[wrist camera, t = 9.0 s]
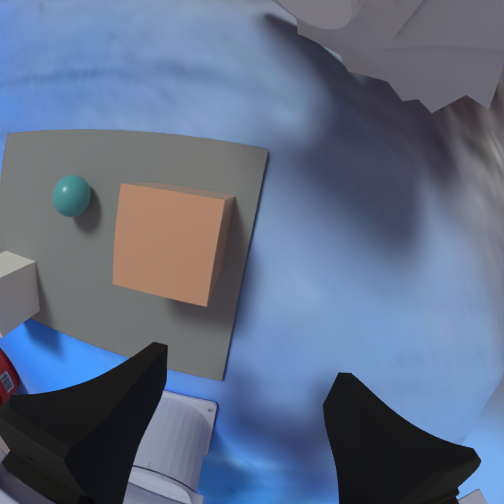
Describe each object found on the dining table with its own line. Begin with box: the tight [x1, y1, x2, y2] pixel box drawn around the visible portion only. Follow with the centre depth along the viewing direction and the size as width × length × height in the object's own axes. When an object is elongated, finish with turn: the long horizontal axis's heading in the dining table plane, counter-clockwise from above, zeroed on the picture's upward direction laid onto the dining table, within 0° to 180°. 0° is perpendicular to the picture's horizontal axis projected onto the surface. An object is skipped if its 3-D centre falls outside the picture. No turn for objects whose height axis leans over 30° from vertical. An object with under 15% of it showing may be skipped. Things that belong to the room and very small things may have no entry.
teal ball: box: [53, 175, 91, 217], centre depth 16 cm, size 3×3×3 cm
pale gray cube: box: [0, 251, 40, 338], centre depth 16 cm, size 5×5×6 cm
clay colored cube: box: [113, 183, 235, 307], centre depth 15 cm, size 5×5×6 cm
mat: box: [0, 129, 269, 381], centre depth 19 cm, size 18×25×1 cm
